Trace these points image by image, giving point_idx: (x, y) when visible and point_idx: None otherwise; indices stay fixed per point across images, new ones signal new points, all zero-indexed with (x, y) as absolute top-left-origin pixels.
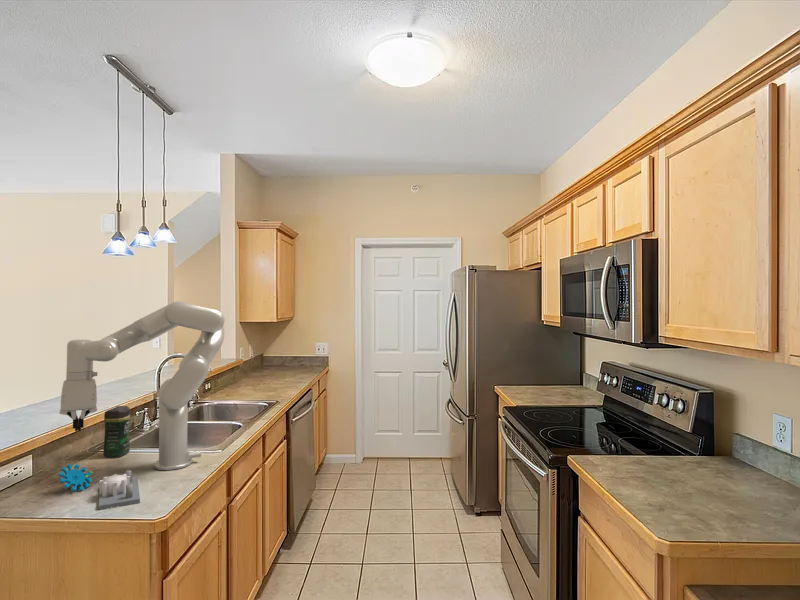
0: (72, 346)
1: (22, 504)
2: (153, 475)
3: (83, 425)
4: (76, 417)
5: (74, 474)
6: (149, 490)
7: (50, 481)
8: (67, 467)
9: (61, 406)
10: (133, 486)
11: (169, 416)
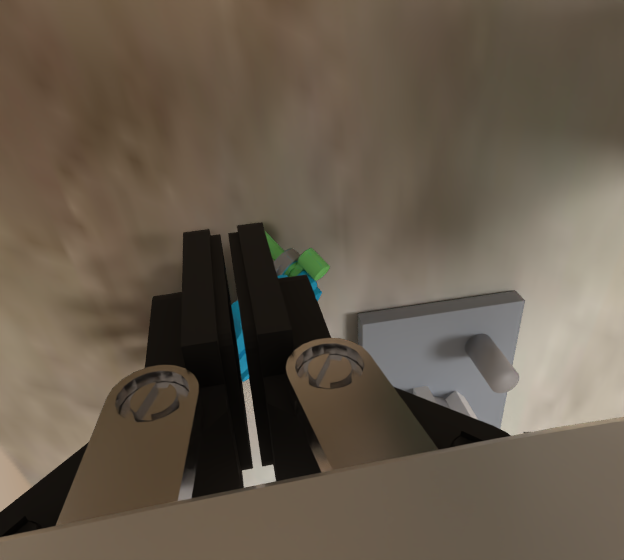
0: None
1: (49, 418)
2: (598, 232)
3: (308, 289)
4: (225, 487)
5: (243, 357)
6: (531, 402)
7: (42, 112)
8: None
9: None
10: (488, 399)
11: None
